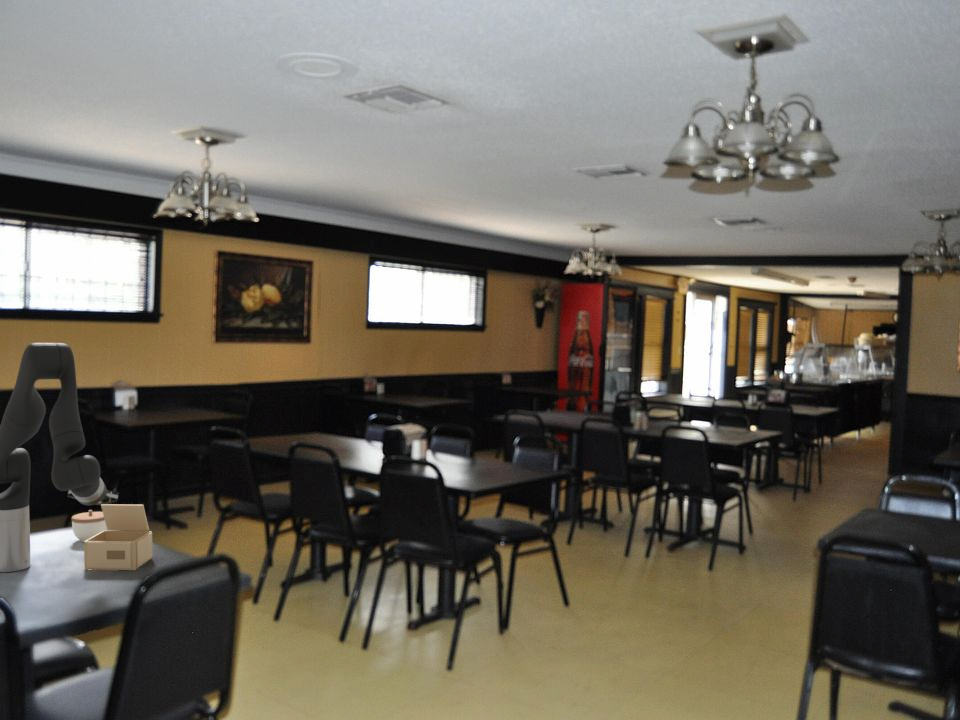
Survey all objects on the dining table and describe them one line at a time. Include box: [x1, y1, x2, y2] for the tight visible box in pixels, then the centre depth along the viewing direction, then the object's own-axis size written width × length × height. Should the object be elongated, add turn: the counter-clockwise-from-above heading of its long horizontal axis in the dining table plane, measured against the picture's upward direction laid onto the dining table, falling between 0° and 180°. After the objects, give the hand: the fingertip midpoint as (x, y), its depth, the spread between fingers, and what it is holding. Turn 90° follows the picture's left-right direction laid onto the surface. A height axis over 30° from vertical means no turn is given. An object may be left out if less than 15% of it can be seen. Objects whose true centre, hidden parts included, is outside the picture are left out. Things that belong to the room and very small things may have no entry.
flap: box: [100, 503, 150, 531], centre depth 247 cm, size 12×1×9 cm, turn 89°
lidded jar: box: [71, 509, 108, 543], centre depth 269 cm, size 11×11×9 cm
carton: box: [83, 530, 153, 571], centre depth 243 cm, size 15×13×8 cm
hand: (98, 501), depth 236 cm, fingers closed
